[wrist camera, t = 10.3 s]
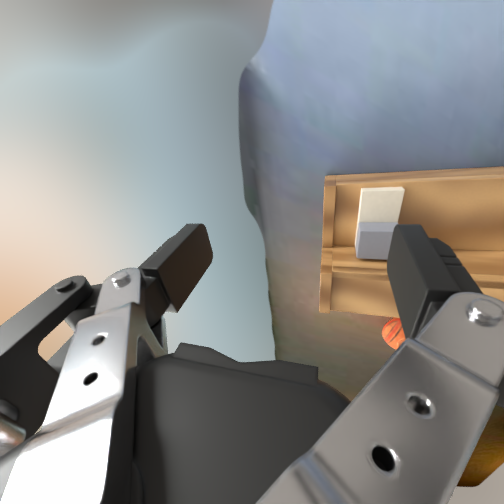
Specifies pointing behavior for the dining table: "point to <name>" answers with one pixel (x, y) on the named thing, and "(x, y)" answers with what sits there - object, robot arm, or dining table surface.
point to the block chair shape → (377, 221)
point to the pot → (393, 333)
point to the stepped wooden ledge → (412, 212)
